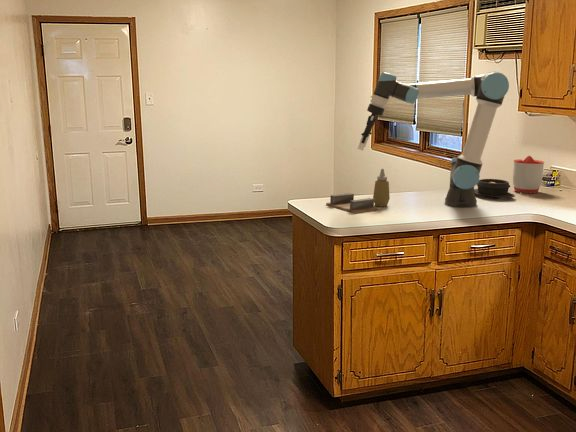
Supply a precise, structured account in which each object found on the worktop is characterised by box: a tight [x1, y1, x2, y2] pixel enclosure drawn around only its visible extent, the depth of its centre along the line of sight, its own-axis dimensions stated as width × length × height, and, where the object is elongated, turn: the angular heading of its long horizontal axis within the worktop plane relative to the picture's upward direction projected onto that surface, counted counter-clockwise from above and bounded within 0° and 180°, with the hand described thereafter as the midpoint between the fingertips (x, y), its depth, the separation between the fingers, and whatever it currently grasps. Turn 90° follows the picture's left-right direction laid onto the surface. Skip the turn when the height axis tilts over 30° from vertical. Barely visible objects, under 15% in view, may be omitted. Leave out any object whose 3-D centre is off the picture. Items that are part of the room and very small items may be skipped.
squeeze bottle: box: [372, 168, 390, 208], centre depth 303 cm, size 8×8×18 cm
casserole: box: [474, 178, 516, 200], centre depth 329 cm, size 25×19×8 cm
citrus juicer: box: [512, 155, 545, 194], centre depth 343 cm, size 16×17×20 cm
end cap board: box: [325, 192, 379, 214], centre depth 300 cm, size 22×14×5 cm, turn 33°
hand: (361, 148), depth 300 cm, fingers open, 13 cm apart
